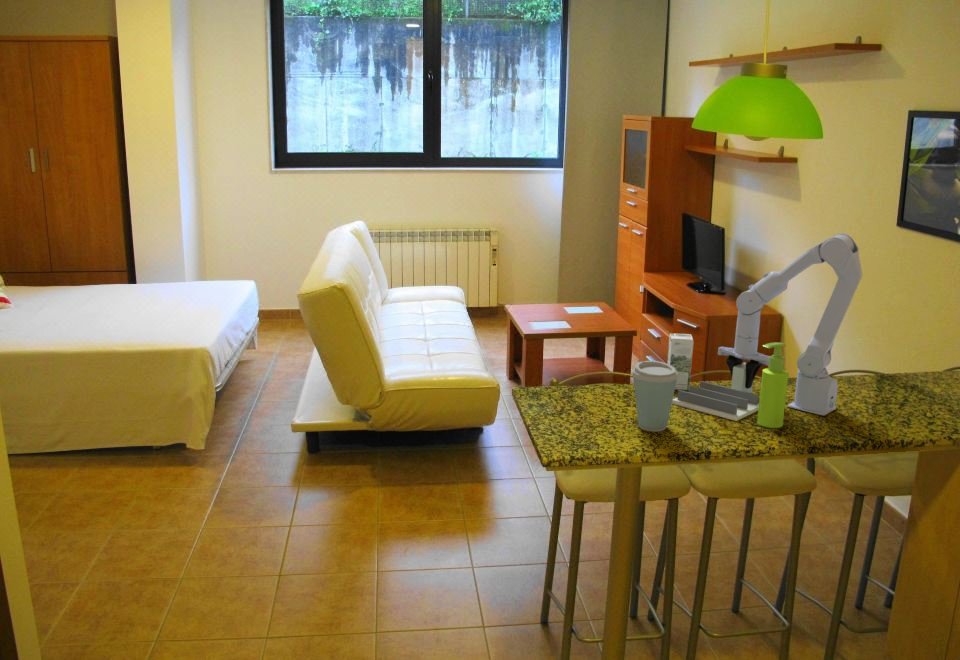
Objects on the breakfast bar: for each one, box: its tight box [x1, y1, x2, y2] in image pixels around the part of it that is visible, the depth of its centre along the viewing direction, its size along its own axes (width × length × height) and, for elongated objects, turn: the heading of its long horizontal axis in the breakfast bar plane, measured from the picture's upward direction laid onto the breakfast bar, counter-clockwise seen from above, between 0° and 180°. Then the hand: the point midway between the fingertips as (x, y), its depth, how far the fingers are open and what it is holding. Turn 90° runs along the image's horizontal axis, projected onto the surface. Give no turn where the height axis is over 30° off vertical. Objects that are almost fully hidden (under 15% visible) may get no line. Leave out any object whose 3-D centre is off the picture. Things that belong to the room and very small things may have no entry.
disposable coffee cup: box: [631, 360, 678, 433], centre depth 209 cm, size 11×11×15 cm
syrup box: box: [666, 333, 694, 392], centre depth 239 cm, size 6×6×14 cm
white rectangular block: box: [730, 362, 754, 393], centre depth 235 cm, size 6×3×8 cm, turn 137°
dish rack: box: [671, 380, 760, 422], centre depth 227 cm, size 18×14×4 cm
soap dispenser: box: [756, 341, 790, 429], centre depth 212 cm, size 6×7×20 cm
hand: (741, 386), depth 236 cm, fingers closed on white rectangular block, 3 cm apart
